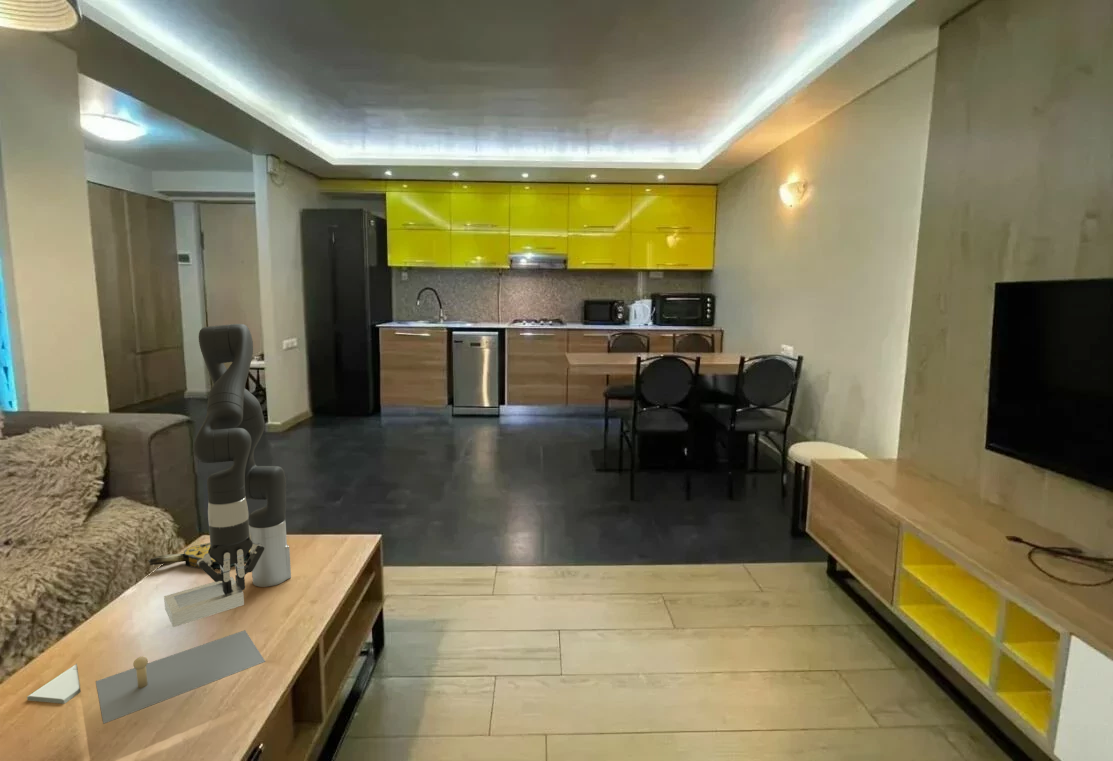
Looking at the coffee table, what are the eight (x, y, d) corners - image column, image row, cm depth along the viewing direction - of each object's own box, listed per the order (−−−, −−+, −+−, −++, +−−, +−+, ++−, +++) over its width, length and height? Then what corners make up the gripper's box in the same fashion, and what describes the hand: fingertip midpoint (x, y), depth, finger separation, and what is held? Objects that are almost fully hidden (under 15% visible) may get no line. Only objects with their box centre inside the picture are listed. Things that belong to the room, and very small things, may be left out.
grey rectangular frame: (233, 589, 131) (232, 576, 131) (244, 604, 125) (243, 591, 124) (165, 609, 123) (163, 596, 122) (173, 627, 116) (171, 613, 116)
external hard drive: (27, 703, 115) (84, 664, 127) (64, 706, 114) (118, 666, 126) (26, 695, 115) (83, 657, 127) (63, 699, 114) (117, 660, 126)
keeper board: (245, 634, 138) (243, 605, 137) (265, 666, 126) (263, 635, 125) (96, 686, 119) (92, 653, 118) (104, 729, 107) (100, 693, 106)
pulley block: (156, 538, 176) (264, 529, 185) (159, 555, 178) (266, 544, 186) (139, 565, 163) (256, 553, 172) (142, 583, 165) (257, 570, 173)
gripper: (257, 506, 132) (262, 577, 135) (188, 521, 123) (194, 597, 126) (267, 516, 127) (272, 590, 129) (196, 532, 118) (202, 611, 120)
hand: (234, 593), depth 127 cm, fingers closed on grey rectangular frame, 1 cm apart
